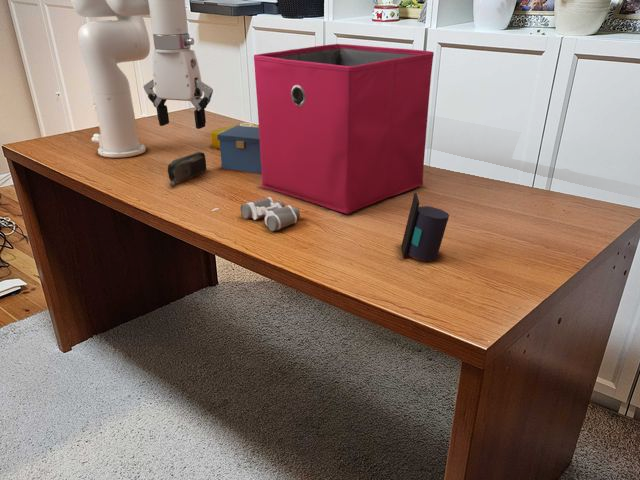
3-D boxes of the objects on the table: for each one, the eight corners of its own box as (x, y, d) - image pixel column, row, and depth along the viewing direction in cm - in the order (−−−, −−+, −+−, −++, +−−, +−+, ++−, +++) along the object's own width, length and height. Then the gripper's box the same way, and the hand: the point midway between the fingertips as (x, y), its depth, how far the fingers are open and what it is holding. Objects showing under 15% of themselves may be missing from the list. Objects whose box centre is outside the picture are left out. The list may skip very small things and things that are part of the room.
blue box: (219, 169, 150) (216, 135, 145) (239, 158, 159) (236, 125, 154) (264, 174, 146) (263, 139, 142) (282, 163, 155) (281, 129, 150)
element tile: (208, 146, 168) (207, 129, 166) (247, 137, 178) (246, 120, 175) (245, 156, 160) (244, 138, 157) (283, 145, 170) (283, 128, 167)
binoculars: (240, 216, 122) (239, 199, 120) (271, 207, 127) (270, 191, 125) (275, 233, 115) (275, 216, 113) (307, 223, 119) (307, 206, 117)
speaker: (392, 256, 105) (403, 200, 100) (401, 246, 110) (412, 191, 104) (433, 268, 103) (447, 211, 98) (441, 257, 108) (454, 202, 102)
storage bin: (255, 188, 138) (247, 52, 122) (336, 162, 155) (338, 41, 140) (346, 218, 122) (350, 66, 106) (425, 186, 139) (439, 51, 124)
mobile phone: (196, 149, 148) (161, 164, 136) (207, 151, 147) (172, 165, 135) (198, 170, 150) (163, 185, 138) (209, 171, 149) (174, 187, 137)
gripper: (215, 42, 128) (223, 125, 137) (147, 40, 133) (159, 120, 142) (198, 46, 122) (207, 132, 131) (127, 43, 127) (141, 127, 137)
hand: (182, 126), depth 137 cm, fingers open, 9 cm apart
